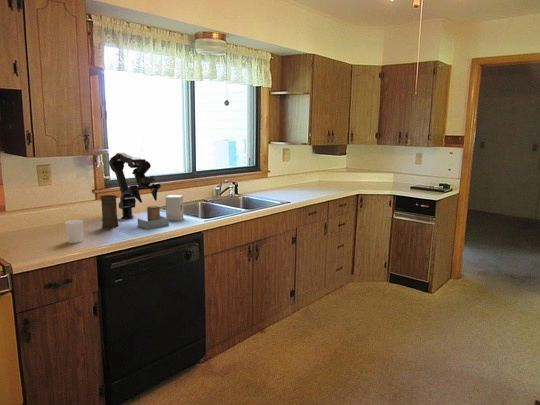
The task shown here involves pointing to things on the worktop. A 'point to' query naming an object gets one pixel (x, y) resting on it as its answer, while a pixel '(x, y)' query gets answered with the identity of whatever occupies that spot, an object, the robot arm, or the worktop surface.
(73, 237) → the white cup
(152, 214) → the walnut block
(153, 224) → the open box
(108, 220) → the container
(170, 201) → the supplement box
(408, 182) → the worktop surface
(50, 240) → the worktop surface
